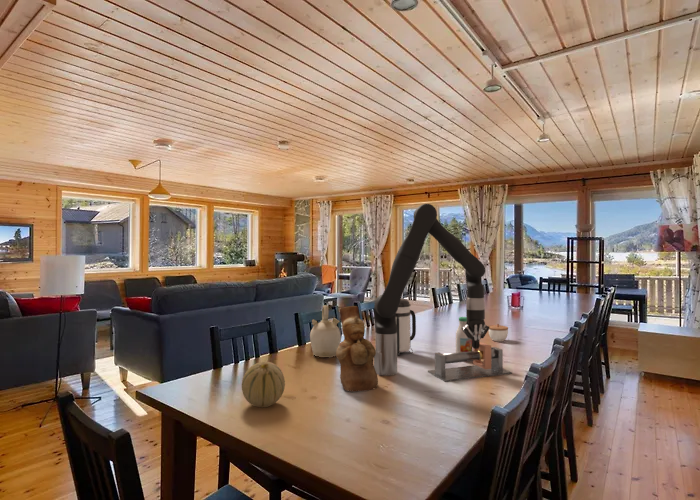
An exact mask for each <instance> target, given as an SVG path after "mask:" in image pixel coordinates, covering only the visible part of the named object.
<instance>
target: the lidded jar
mask: <svg viewBox="0 0 700 500" xmlns="http://www.w3.org/2000/svg"><path fill="white" fill-rule="evenodd" d="M488 326H489V327H490V328H489V330H488V331H487V332H488V335H489V338H490V339H491V340H492V341H493V342H500V343H501V342H504V341H505V340H506V339H507V337H508V335H509V327H508V326H506V325H500V324H499V323H497V324H494V325H488Z"/></svg>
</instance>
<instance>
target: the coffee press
mask: <svg viewBox="0 0 700 500" xmlns="http://www.w3.org/2000/svg"><path fill="white" fill-rule="evenodd" d="M416 322H417V321H416V314H415V311H414V310H411V303H410V301H409V300H408V299H406V298H401V300H400V303H399V307H398V310H397V312H396V325H397V357H400V353H405V352H406V353H407V352H409V353H410V354H413V352H414V350H413V349H412V348H411V341H412V340H414V339H415V337H416V334H417V333H416V332H417V325H416V324H417V323H416ZM411 323H412V324H411ZM411 326H412V327H411ZM410 350H411V351H410Z"/></svg>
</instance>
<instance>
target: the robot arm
mask: <svg viewBox="0 0 700 500" xmlns="http://www.w3.org/2000/svg"><path fill="white" fill-rule="evenodd" d="M437 216H438V212H437V209H436V207H435V206H434V205H433V204H430V203H423V204H421V205H419V206H418V207H417V208H416V209H415V210H414V212H413V222H412V224H411V227H410V229H409V232H408V233H407V236H406V237H405V238H404V240H403V241H402V244H401V245H400V247H399V249H398V250H397V253H396V255H395V257H394V259H393V263H392V265H391V270H390V272H389V273H390V275H389V278H388V282H387V284H386V286H385V288H384V291H383V293H382V294H381V295H379V296H378V297H376V299H375V301H374V307H373V308H374V309H373V310H374V313H373V314H374V328H375V329H374V330H375V331H374V333H375V339H374V340H375V350H376V354H375V356H374V358H373V365H374V368H375V371H376V374H377V376H386V377H387V376H395V375H397V374H398V356H397V325H396V312H397V310H398V307H399V303H400V300H401V299H402V297H403V293H404V291H405V288H406V286H407V285H408V282H409V281H410V279H411V277H412V274H413V272H414V270H415V267H416V266H417V263H418V261H419V260H420V259H419V258H420V257H421V254H422V250H423V247H424V243H425V241H426V238H427V236H428V235H430V236H432V237H433V238H434V239H435V240H436V241H437V242H438V243H439V244H440V245H441V247H442V248H443V249H444V250H445V251H446V252H447V253H448V254H449V255H450V257H452V259H453V260H454V261H456V262H457V263H458V264H460V265H461V267H463V268H464V271H465V281H466V303H465V305H466V309H465V310H466V311H465V313H466V316H465V317H466V318H467V322H466V326H465V327H462V330H463V332H464V333H465V334H466V336H467V337H468V338H470V339H472V349H473V348H474V349H479V346H480V342H481V341H480V340H481V339H484V338H485V337H486V334H487V333H488V332H489V331H488V330H489V328H490V327H489V326H490V325H487V324H486V322H485V319H486V318H485V317H486V308H485V307H486V305H485V304H486V303H485V289H484V288H485V287H484V285H483V283H482V278H483V277H484V276H485V273H486V267H485V264H484V263H483V262H482V261H480V260H479V259H478V257H476V256H475V255H474V254H473V253H471V252H470V251H469V249H468V248H467V247H466V245H464V243H463V242H462V241H461V240H459V238H458V237H456V236H455V235H454V234H452V233H451V232H450V231H449V230H448V229H446V228H445V226H443V225H442V224H441V222H440V221H439V219H437ZM468 328H469V329H468ZM469 330H470V332H469Z"/></svg>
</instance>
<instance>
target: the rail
mask: <svg viewBox="0 0 700 500" xmlns="http://www.w3.org/2000/svg"><path fill="white" fill-rule="evenodd" d="M503 355H504V354H503V348H499V347H497V346H491V369H483V368H481V367H479V366H477V365H474V364H473V365H465V366H455V367H448V368H446V364H447V365H449V364H457V363H465V362H466V363H467V362H473V361H476V360H481V361H482V360H483V351H473V350H472V351H468V352H458V353H456V352H451V353H450V352H449V353H441V352H434V369H429V370H427V373H429V374H430V375H433V376H434V377H435V378H438V379H440V380H441V381H443V382H445V383H446V382H447V383H448V382H453V381H454V382H455V381H461V380H462V381H463V380H469V379H470V380H471V379H480V378H485V377H487V378H488V377H493V376H494V377H495V376H504V375H505V376H506V375H512V373H513V371H510V370H507V369H505V368H504V366H503V365H504V363H503V362H504V358H503Z"/></svg>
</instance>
